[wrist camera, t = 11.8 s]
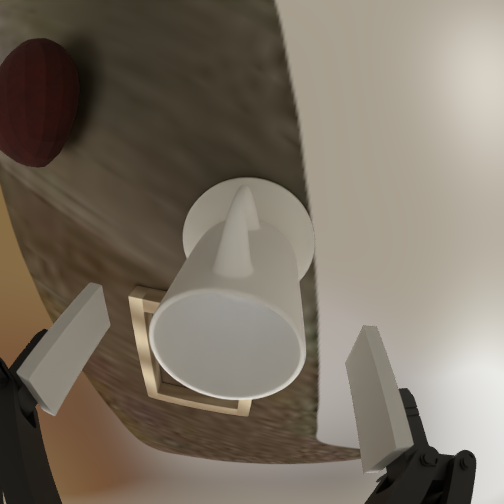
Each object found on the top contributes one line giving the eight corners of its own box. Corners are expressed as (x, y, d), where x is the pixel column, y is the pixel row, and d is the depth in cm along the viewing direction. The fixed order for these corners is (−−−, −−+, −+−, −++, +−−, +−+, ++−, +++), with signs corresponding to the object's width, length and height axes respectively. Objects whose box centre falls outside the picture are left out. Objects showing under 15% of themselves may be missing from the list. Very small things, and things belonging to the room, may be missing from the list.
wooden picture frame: (136, 285, 27) (128, 296, 25) (269, 307, 27) (268, 321, 25) (153, 385, 34) (148, 396, 33) (249, 404, 34) (247, 416, 32)
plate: (188, 169, 22) (185, 171, 21) (325, 188, 22) (327, 190, 21) (184, 286, 27) (182, 290, 26) (299, 303, 26) (300, 308, 26)
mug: (309, 177, 20) (338, 227, 11) (288, 309, 26) (291, 406, 16) (196, 168, 21) (130, 208, 11) (196, 298, 26) (159, 387, 16)
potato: (97, 30, 16) (30, 10, 8) (106, 148, 21) (33, 168, 13) (35, 64, 17) (-30, 64, 9) (44, 167, 22) (-22, 193, 14)
